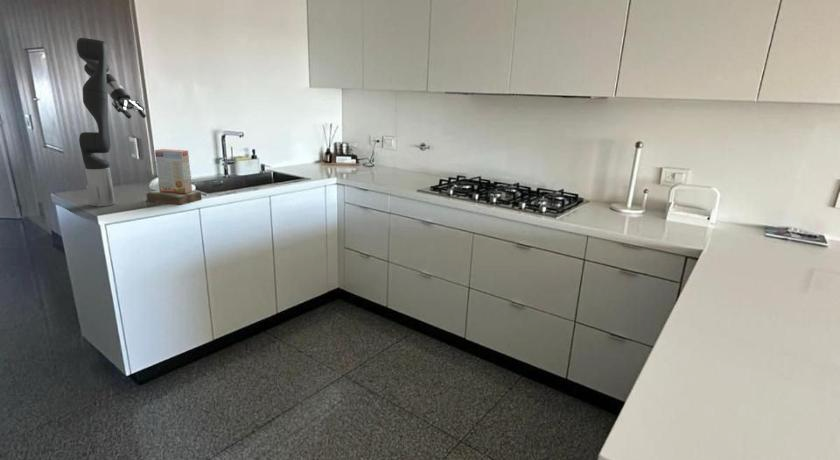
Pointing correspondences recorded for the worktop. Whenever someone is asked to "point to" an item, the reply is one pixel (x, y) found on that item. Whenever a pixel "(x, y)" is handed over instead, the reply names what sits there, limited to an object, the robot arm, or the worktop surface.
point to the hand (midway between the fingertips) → (137, 117)
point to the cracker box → (173, 171)
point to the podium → (173, 197)
